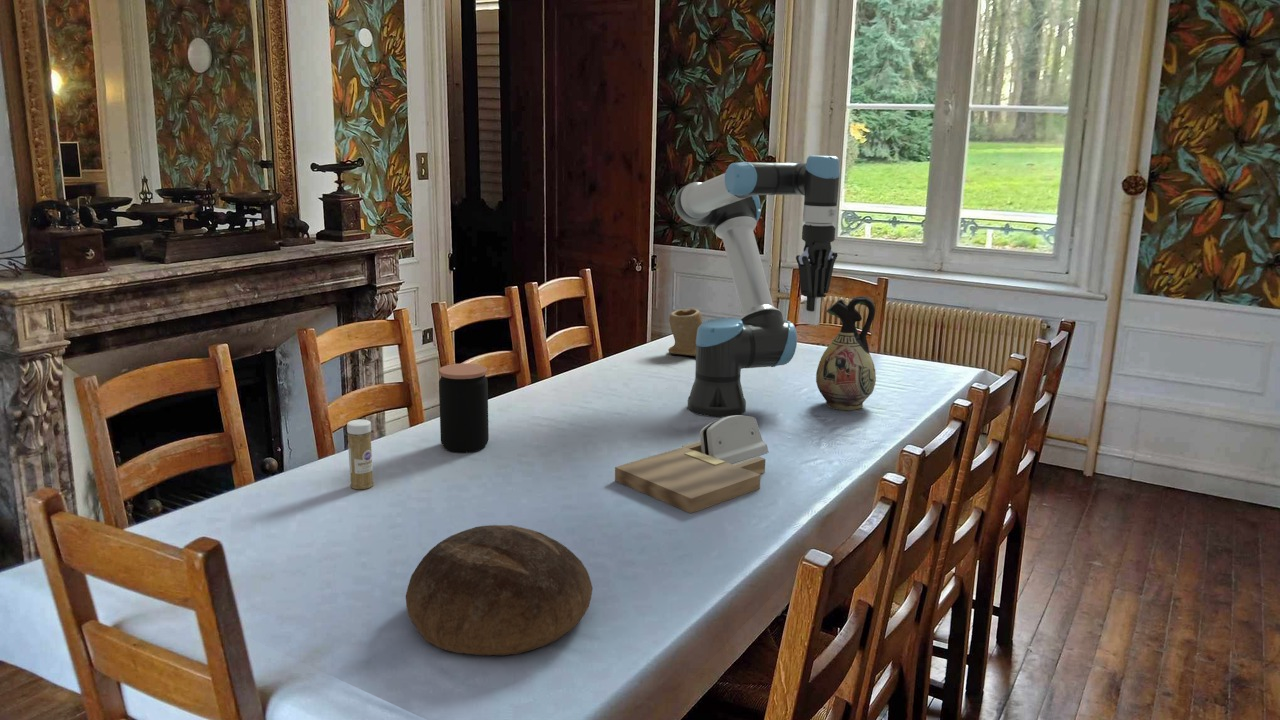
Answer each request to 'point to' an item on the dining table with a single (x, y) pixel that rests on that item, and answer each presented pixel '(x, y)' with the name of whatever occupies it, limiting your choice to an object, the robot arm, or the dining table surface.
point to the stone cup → (685, 331)
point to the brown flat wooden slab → (691, 477)
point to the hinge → (732, 439)
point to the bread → (497, 591)
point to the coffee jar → (463, 407)
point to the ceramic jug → (847, 359)
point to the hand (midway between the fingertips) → (812, 324)
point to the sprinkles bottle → (360, 454)
